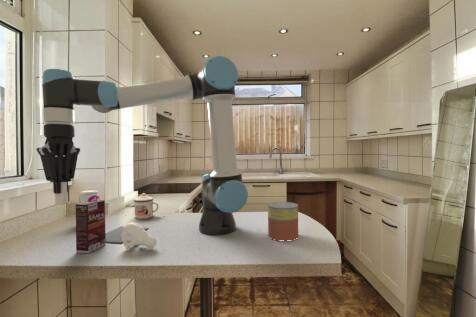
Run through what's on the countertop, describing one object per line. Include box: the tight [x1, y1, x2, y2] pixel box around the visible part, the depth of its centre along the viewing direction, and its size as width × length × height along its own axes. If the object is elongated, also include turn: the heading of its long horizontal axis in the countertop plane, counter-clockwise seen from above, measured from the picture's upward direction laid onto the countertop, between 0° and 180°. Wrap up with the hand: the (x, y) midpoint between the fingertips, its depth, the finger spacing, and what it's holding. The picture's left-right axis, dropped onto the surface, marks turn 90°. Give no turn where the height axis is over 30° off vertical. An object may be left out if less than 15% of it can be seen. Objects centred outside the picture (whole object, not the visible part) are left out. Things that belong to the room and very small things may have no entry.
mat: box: [105, 225, 149, 245], centre depth 105 cm, size 13×18×1 cm
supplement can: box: [78, 189, 101, 204], centre depth 122 cm, size 8×8×15 cm
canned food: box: [267, 201, 299, 241], centre depth 100 cm, size 11×11×12 cm
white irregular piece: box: [121, 222, 157, 252], centre depth 90 cm, size 6×8×12 cm
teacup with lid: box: [133, 192, 160, 220], centre depth 134 cm, size 12×9×12 cm
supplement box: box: [75, 199, 107, 254], centre depth 91 cm, size 9×5×16 cm, turn 168°
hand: (61, 204), depth 79 cm, fingers closed
